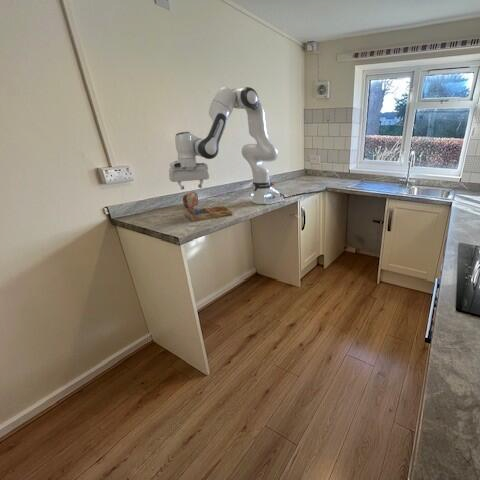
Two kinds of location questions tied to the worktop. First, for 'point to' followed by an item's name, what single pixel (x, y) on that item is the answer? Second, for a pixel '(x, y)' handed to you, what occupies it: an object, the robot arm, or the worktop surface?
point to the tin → (190, 199)
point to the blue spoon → (198, 211)
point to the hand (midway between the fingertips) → (191, 188)
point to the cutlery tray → (209, 213)
